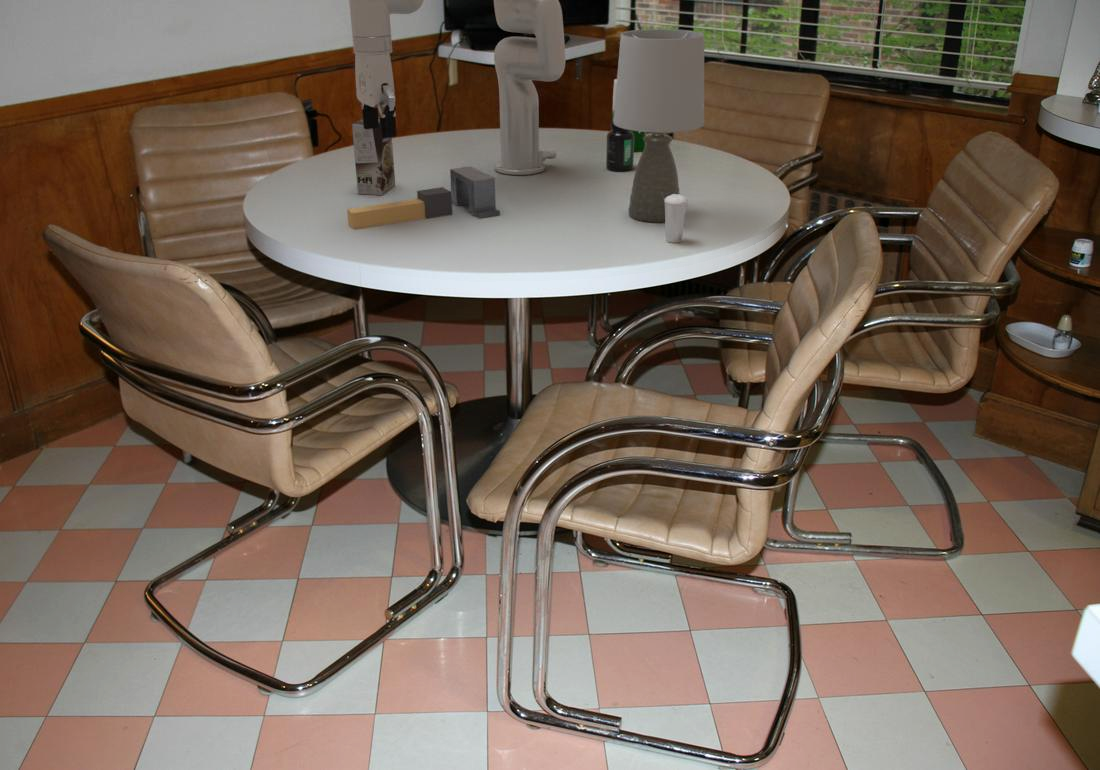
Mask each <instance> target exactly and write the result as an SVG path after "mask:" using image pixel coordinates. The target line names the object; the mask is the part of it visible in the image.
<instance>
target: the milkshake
mask: <svg viewBox="0 0 1100 770" xmlns="http://www.w3.org/2000/svg"><path fill="white" fill-rule="evenodd" d="M661 194H662V192H661ZM662 196H663V195H662ZM663 199H664V198H663ZM688 202H689V201H688V199H687V198H686V196H684V195H682V194H680V193H679V194H672V195H670V196H667V197H666V198H665V200H664V206H665V222H664V225H665V228H664V229H665V242H667V243H672V244H679V243H682V241H683V236H684V227H685V220H686V215H687V210H688V209H687V207H688Z"/></svg>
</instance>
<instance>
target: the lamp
mask: <svg viewBox="0 0 1100 770" xmlns="http://www.w3.org/2000/svg"><path fill="white" fill-rule="evenodd" d="M618 54H619V55H618V64H617V65H618V66H617V73H616V79H617V85H616V96H615V107H614V119H613V123H614V125H616V126H618V127H620V128H623V129H627V130H633V131H641V132H646V133H651V134H646V136H645V137H644V138H643V140H644V142H645V148H644V150H643V151H642V153H641V155H640V157H639V160H638V163H637V165H636V169H635V172H634V173H635V174H634V177H633V182H632V187H631V193H630V196H629V197H630V198H629V206H628V216H629V217H630V218H632V219H633V220H636V221H639V222H644V223H645V222H646V223H665V206H664V200H665V198H666V197H667V196H670V195H672V194H680V187H679V176H678V169H677V165H676V161H675V158H674V155H673V153H672V150H671V147H670V145H671V143H672V142H673V137H672V136H670V135H668V134H665V133H680V132H688V131H693V130H697V129H701V128H703V127H704V125H705V34H704V33H702V32H700V31H693V30H687V29H685V30H684V29H671V28H670V29H669V28H668V29H666V28H665V29H664V28H663V29H662V28H657V29H656V28H655V29H654V28H653V29H649V28H647V29H636V30H635V29H634V30H628V31H624V32H621V33H620V40H619V52H618ZM661 192H662V194H661ZM662 195H663V196H662ZM663 198H664V199H663Z"/></svg>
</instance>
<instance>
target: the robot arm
mask: <svg viewBox="0 0 1100 770" xmlns="http://www.w3.org/2000/svg"><path fill="white" fill-rule="evenodd" d="M348 3H349V13H350V14H349V15H350V25H351V33H352V35H351V36H352V45H353V54H355V55H354V56H355V57H354V58H355V59H354V60H355V61H354V62H355V63H354V68H355V69H354V71H355V72H354V74H355V91H356V99H357V100H358V101H359V102H360V103H361V104H360V106H361V113H362V119H363V126H364V129H373V128H378V127H379V122H380V134H381V138H390V137H392V138H396V137H397V135H398V134H397V121H396V115H397V114H396V95H395V83H394V73H393V65H392V60H391V55H390V54H392V53H393V44H392V41H393V40H392V29H391V28H392V27H391V18H390V17H391V15H411V14H414V13H415V12H418V10H420V8H421V7H422V6H423V3H424V0H348ZM493 8H494V13H495V14H494V15H495V19H496V23H497V26H498V27H499V28H500V29H501V30H503V31H505V32H510V33H520V34H529V35H530V34H531V35H535V37H531V36H530V37H528V36H509V37H504V38H503V39H501V40H500V41H499V42H498V43H497V45H495V48H494V52H493V62H494V67H495V72H496V75H497V81H498V93H499V94H498V97H499V127H500V131H499V133H500V137H499V138H500V161H498V162H496V163H495V164H494V170H495V171H496V172H498V173H500V174H503V175H504V174H505V175H513V176H526V175H535V174H539V173H542V172H543V171H545V169H546V164H545V161H546V160H554V159H556V158H557V152H556V150H549V151H547V150H541V149H540V146H539V145H540V142H539V141H540V134H539V131H540V130H539V129H540V127H539V124H540V122H539V121H540V120H539V113H540V112H539V106H540V105H539V104H540V103H539V94H538V91H537V89H536V86H535V84H534V83H533V81H537V82H538V81H539V82H555V81H557V80H559V79H560V78H561V77H562V75H563V73H564V72H565V68H566V44H565V33H564V31H565V30H564V21H563V10H562V6H561V3H560V1H559V0H493ZM379 114H380V117H381V118H379V119H378V117H379Z"/></svg>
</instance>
